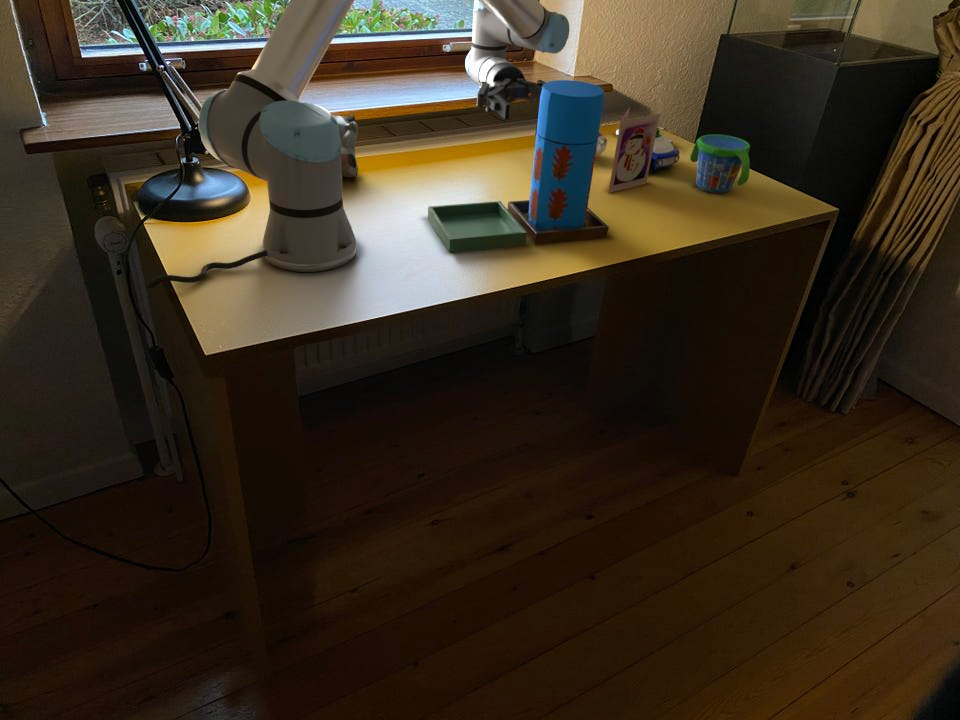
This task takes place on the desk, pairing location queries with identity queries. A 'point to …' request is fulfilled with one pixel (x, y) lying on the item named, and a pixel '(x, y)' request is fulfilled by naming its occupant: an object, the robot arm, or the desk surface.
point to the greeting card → (633, 151)
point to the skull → (600, 146)
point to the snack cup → (720, 162)
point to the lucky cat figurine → (348, 144)
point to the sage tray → (476, 226)
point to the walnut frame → (564, 235)
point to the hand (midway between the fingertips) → (541, 110)
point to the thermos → (564, 154)
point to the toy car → (663, 152)
